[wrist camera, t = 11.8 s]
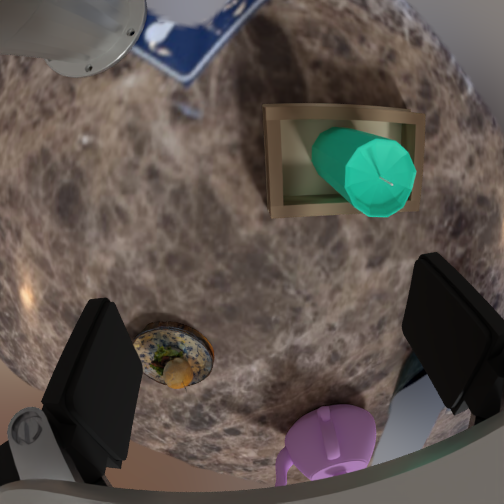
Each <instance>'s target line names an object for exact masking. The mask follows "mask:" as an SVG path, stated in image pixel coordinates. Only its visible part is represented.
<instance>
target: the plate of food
mask: <svg viewBox="0 0 504 504" xmlns="http://www.w3.org/2000/svg"><path fill="white" fill-rule="evenodd" d="M133 345H134V347H135V349H136V351H137V353H138V356H139V358H140V360H141V362H142V365H143V373H144V374H145V375H147V376H148V377H149V378H151V379H153V380H155V381H156V382H158V383H161V384H163V385H167V386H168V387H171V388H174V389H180V388H183V387H185V389H186V386H190V385H194V384H196V383H199V382H201V381H202V380H204V379H205V378H207V377H208V376H209V374H210V373H211V370H212V368H213V362H214V350H213V348H212V346H211V344H210V342H209V341H208V340H207V338H205V337H204V336H203V335H202V334H201V333H200V332H198V331H197V330H195V329H193V328H191V327H189V326H187V325H184V324H181V323H177V322H171V321H168V322H162V323H160V321H159V322H156V323H155V322H154V323H150V324H148V325H147V327H146V328H145V329H144V331H142V332H141V333H140V334H138V335H137V336H136V337H135V338H134V340H133ZM186 391H187V390H186Z"/></svg>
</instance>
